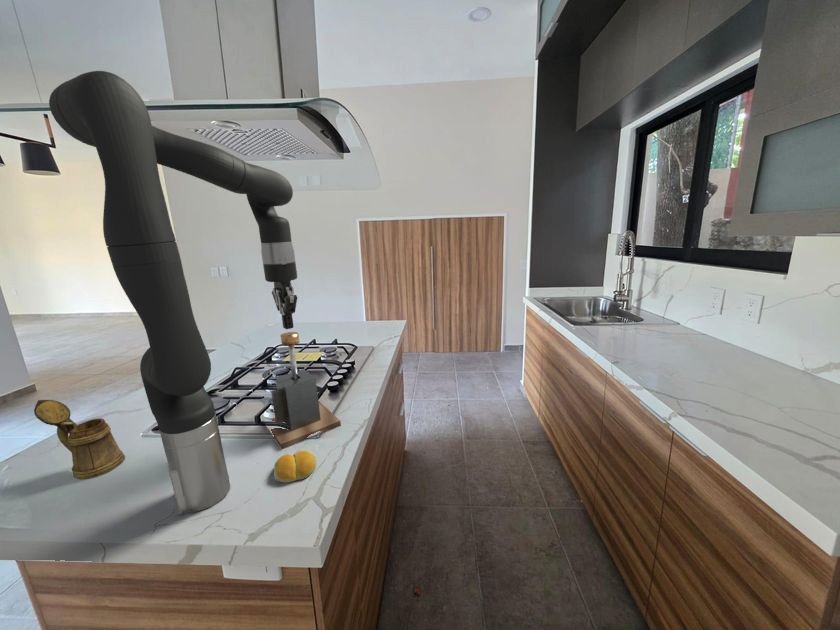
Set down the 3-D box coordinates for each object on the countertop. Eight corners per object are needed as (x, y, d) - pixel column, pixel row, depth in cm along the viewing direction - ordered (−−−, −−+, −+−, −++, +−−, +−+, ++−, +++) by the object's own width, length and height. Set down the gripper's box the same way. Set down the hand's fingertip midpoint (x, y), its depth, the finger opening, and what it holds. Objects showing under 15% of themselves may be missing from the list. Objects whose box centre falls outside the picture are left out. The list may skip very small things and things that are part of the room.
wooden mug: (78, 456, 85) (56, 390, 81) (134, 453, 86) (116, 387, 81) (41, 482, 77) (15, 410, 72) (104, 478, 77) (82, 406, 73)
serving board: (281, 449, 85) (280, 444, 84) (264, 423, 97) (263, 418, 97) (340, 425, 94) (340, 420, 94) (318, 404, 107) (317, 399, 106)
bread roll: (318, 476, 75) (316, 460, 74) (275, 488, 72) (272, 472, 71) (315, 454, 83) (313, 440, 82) (275, 465, 80) (272, 450, 79)
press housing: (282, 434, 89) (275, 390, 85) (273, 422, 95) (266, 380, 92) (320, 420, 95) (315, 378, 92) (309, 409, 101) (304, 369, 98)
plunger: (288, 391, 89) (281, 339, 85) (281, 384, 93) (274, 334, 90) (311, 384, 92) (304, 334, 89) (303, 377, 97) (296, 329, 93)
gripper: (256, 261, 87) (266, 326, 92) (271, 264, 77) (281, 337, 82) (286, 258, 92) (294, 320, 96) (303, 261, 82) (312, 330, 86)
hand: (288, 328), depth 89 cm, fingers closed
